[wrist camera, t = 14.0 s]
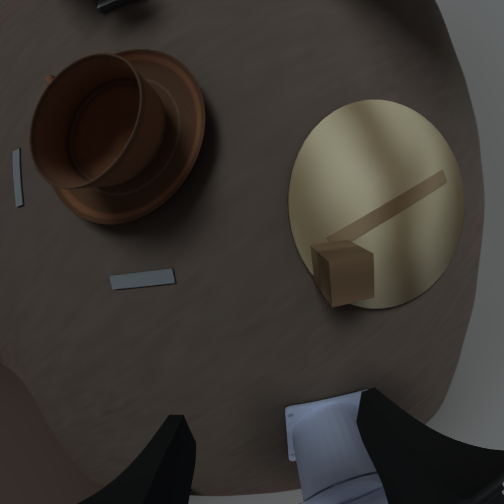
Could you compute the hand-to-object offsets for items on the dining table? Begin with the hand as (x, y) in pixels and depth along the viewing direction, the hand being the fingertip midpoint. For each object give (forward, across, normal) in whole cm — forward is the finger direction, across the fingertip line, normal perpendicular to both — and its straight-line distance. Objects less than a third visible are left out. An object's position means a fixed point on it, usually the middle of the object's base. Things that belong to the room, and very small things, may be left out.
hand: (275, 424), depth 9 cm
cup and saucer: (+10, +8, -14) cm, 19 cm away
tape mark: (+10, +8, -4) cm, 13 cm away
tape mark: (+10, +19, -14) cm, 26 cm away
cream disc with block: (+10, -10, -7) cm, 16 cm away
